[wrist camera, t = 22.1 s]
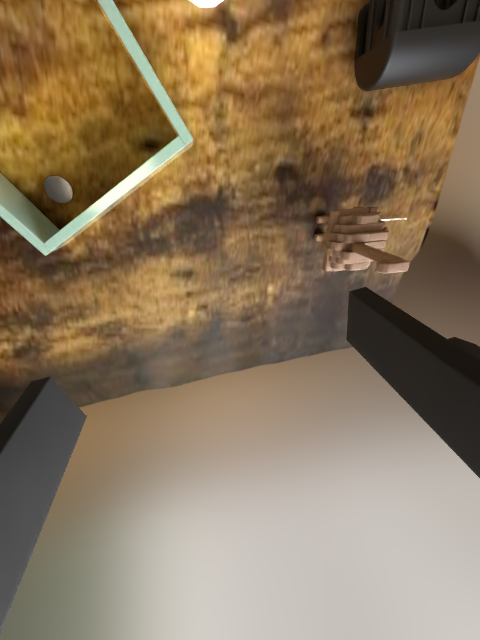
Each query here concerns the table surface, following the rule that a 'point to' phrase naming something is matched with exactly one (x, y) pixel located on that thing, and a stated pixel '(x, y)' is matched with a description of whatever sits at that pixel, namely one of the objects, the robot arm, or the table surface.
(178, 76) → the table surface
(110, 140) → the table surface
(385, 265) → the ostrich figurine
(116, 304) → the table surface
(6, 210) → the square frame
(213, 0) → the foam cup
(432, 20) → the end cap
